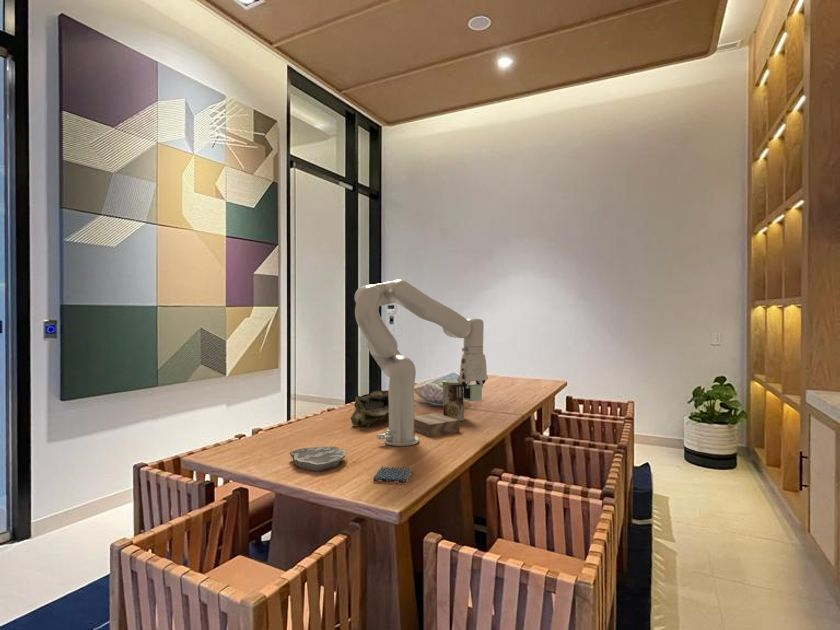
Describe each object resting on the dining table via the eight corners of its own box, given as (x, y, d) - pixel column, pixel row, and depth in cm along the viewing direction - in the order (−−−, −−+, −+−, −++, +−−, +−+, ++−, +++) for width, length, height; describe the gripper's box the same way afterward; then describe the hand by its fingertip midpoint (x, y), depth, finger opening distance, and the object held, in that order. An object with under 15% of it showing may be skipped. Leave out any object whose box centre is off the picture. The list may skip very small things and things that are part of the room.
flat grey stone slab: (359, 463, 154) (359, 454, 154) (313, 477, 142) (313, 466, 142) (325, 451, 168) (325, 442, 168) (280, 462, 156) (280, 453, 156)
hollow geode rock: (396, 425, 223) (380, 399, 230) (411, 409, 218) (394, 383, 225) (351, 436, 202) (335, 407, 208) (368, 418, 196) (350, 389, 203)
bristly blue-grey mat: (371, 484, 136) (370, 477, 136) (380, 472, 147) (380, 465, 147) (407, 486, 134) (407, 479, 134) (414, 473, 145) (414, 467, 145)
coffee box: (464, 418, 217) (463, 382, 217) (463, 421, 211) (463, 384, 211) (443, 417, 218) (443, 381, 218) (442, 421, 212) (442, 384, 212)
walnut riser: (430, 437, 186) (430, 424, 186) (408, 429, 199) (408, 417, 199) (459, 432, 193) (459, 419, 193) (436, 424, 207) (436, 412, 207)
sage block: (471, 401, 184) (471, 385, 184) (463, 399, 188) (463, 384, 188) (481, 400, 186) (481, 384, 186) (473, 398, 190) (473, 383, 190)
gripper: (462, 352, 179) (461, 401, 179) (496, 350, 189) (495, 397, 189) (449, 350, 185) (448, 398, 185) (483, 349, 195) (482, 394, 195)
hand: (472, 397), depth 187 cm, fingers closed on sage block, 5 cm apart
